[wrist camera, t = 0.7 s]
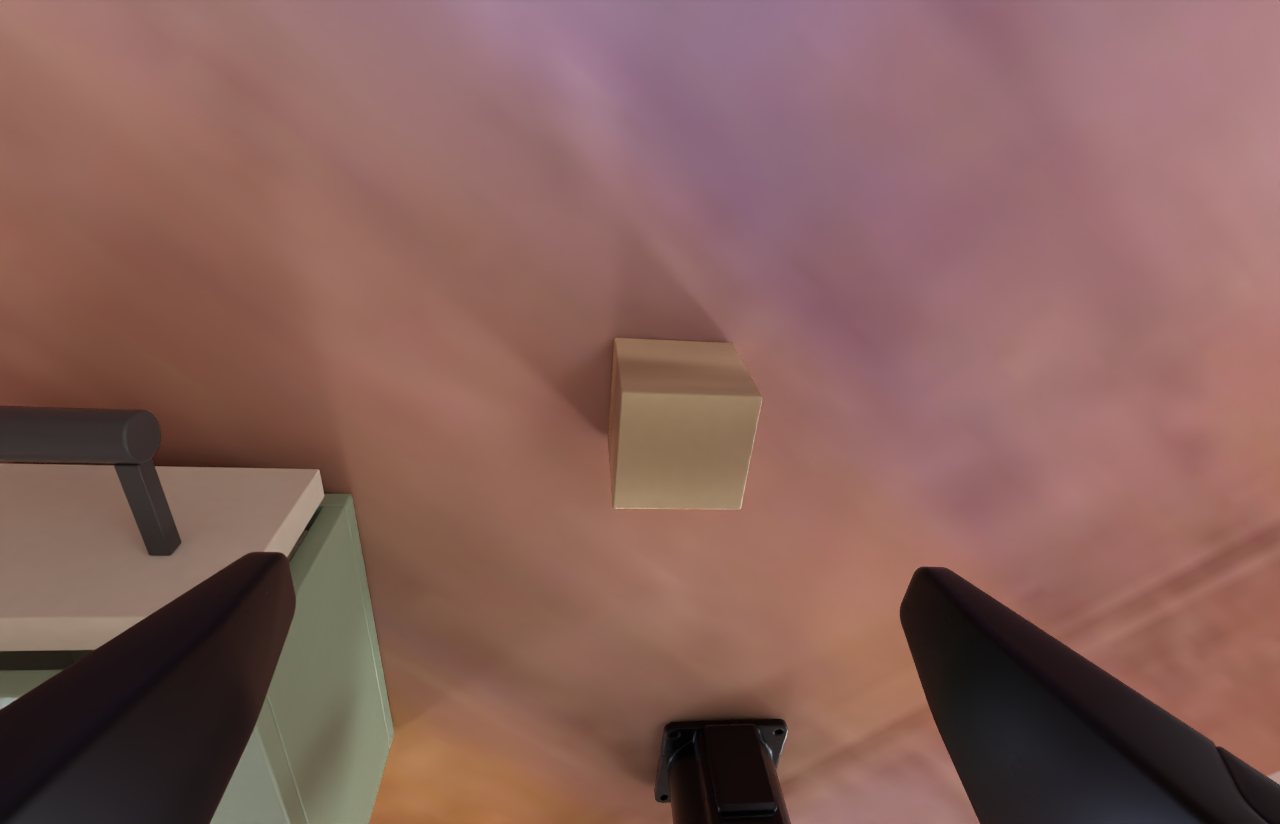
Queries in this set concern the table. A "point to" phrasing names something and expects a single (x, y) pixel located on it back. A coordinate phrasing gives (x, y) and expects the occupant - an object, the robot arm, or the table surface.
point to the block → (680, 425)
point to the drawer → (119, 527)
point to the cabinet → (309, 693)
